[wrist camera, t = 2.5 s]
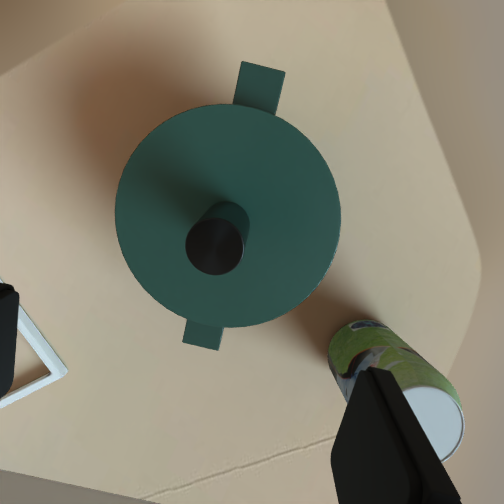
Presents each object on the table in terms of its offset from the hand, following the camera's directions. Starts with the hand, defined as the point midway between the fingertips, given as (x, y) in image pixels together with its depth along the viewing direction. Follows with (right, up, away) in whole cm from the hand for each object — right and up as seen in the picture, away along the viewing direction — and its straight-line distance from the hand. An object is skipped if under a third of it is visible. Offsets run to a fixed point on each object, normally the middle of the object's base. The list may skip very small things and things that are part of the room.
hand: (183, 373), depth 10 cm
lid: (0, +5, +12) cm, 13 cm away
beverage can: (+11, -4, +23) cm, 26 cm away
